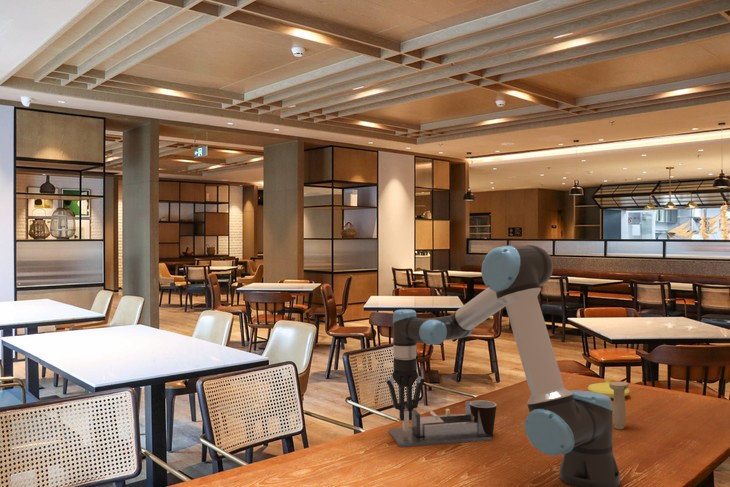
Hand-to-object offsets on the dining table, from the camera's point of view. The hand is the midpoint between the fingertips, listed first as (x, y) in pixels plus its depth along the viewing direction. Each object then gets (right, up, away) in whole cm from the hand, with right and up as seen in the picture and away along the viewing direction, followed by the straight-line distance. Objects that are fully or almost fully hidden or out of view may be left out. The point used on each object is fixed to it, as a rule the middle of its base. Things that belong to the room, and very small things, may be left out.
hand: (405, 430), depth 200 cm
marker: (+15, -1, +10) cm, 18 cm away
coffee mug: (+26, -2, +3) cm, 26 cm away
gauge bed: (+11, -2, +2) cm, 11 cm away
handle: (+72, -2, +7) cm, 72 cm away
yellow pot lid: (+85, -1, +48) cm, 97 cm away
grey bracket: (+7, -1, +4) cm, 8 cm away
